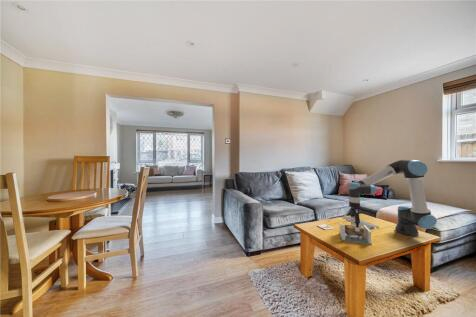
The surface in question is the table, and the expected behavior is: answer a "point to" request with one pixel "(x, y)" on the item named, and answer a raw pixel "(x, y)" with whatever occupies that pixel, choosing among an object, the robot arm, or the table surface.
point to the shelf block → (351, 230)
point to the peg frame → (356, 239)
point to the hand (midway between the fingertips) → (354, 227)
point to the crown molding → (361, 222)
